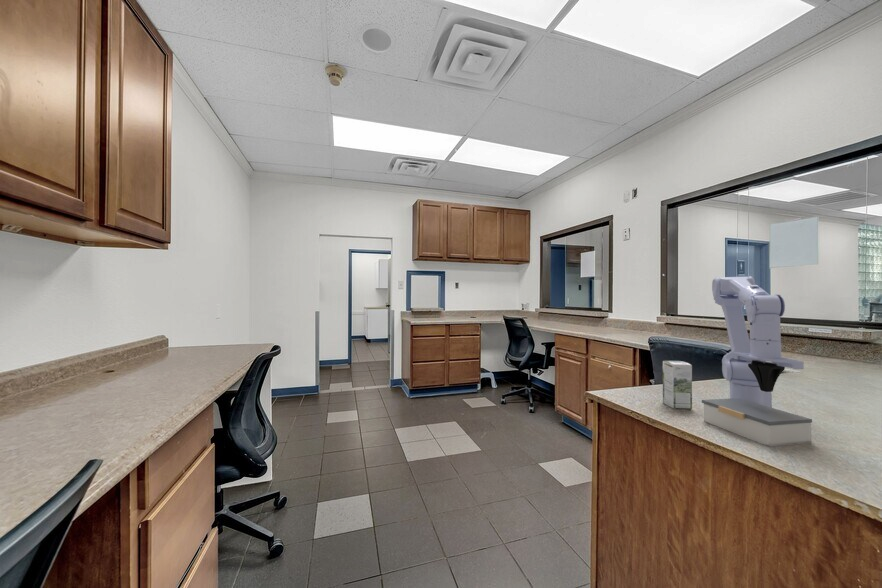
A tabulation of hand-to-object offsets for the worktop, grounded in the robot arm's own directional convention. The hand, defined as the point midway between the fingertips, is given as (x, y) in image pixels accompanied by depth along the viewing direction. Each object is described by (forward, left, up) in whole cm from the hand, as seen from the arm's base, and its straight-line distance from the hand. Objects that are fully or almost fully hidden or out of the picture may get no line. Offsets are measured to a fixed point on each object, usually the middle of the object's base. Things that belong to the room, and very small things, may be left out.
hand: (766, 391), depth 83 cm
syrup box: (+7, -20, -11) cm, 24 cm away
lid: (+5, 0, -6) cm, 8 cm away
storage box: (+4, 0, -10) cm, 11 cm away
